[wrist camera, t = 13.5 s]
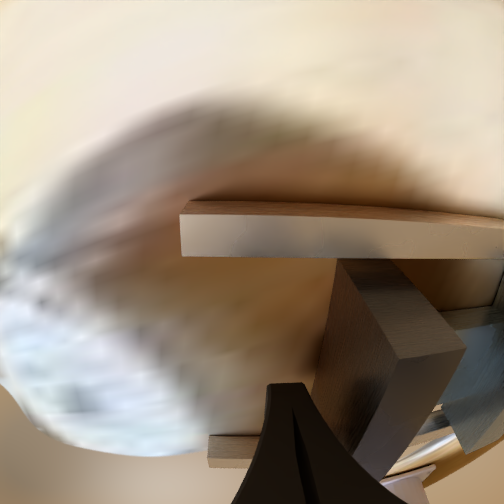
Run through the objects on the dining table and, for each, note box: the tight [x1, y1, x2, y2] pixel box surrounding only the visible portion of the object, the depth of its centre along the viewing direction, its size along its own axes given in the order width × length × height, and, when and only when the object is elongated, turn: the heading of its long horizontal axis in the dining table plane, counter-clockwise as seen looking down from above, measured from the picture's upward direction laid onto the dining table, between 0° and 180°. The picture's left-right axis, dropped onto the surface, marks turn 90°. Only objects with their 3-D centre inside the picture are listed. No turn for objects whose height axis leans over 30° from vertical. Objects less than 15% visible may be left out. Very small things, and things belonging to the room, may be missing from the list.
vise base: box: [180, 201, 504, 468], centre depth 11 cm, size 14×30×4 cm, turn 88°
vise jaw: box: [310, 258, 504, 482], centre depth 10 cm, size 10×12×5 cm
